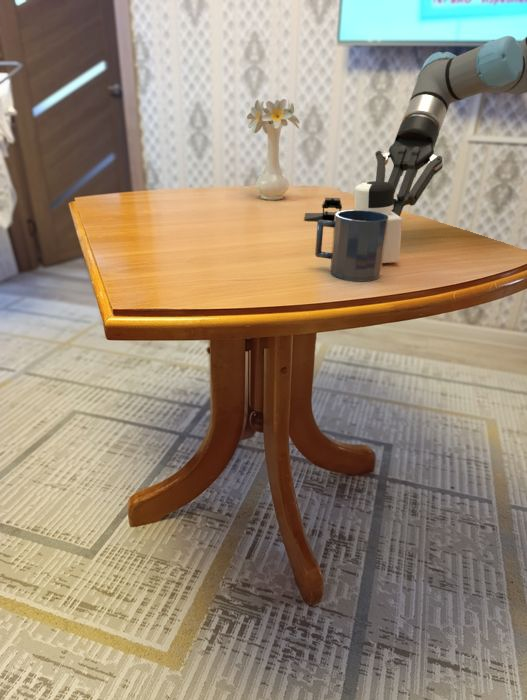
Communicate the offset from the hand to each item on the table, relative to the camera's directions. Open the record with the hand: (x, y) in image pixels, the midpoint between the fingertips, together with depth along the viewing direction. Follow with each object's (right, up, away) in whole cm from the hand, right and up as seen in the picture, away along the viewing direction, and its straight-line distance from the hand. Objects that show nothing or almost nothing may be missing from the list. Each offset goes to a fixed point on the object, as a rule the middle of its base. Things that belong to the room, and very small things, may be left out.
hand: (381, 232), depth 93 cm
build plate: (-6, +10, +28) cm, 30 cm away
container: (-2, -5, -2) cm, 6 cm away
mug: (-8, -8, -8) cm, 14 cm away
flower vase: (-20, +21, +50) cm, 58 cm away
